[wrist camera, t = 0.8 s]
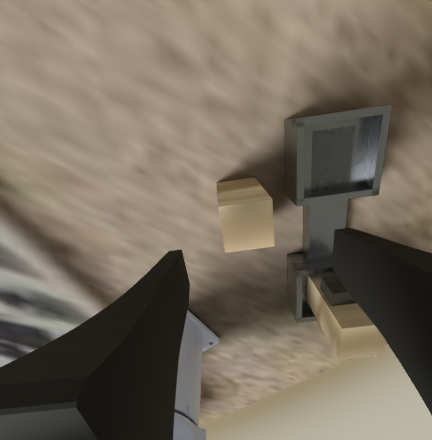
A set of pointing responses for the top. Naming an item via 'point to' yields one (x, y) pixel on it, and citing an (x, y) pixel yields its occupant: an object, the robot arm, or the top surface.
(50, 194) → the top surface
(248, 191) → the beige wooden block
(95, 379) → the robot arm
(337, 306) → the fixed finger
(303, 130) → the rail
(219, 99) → the top surface
